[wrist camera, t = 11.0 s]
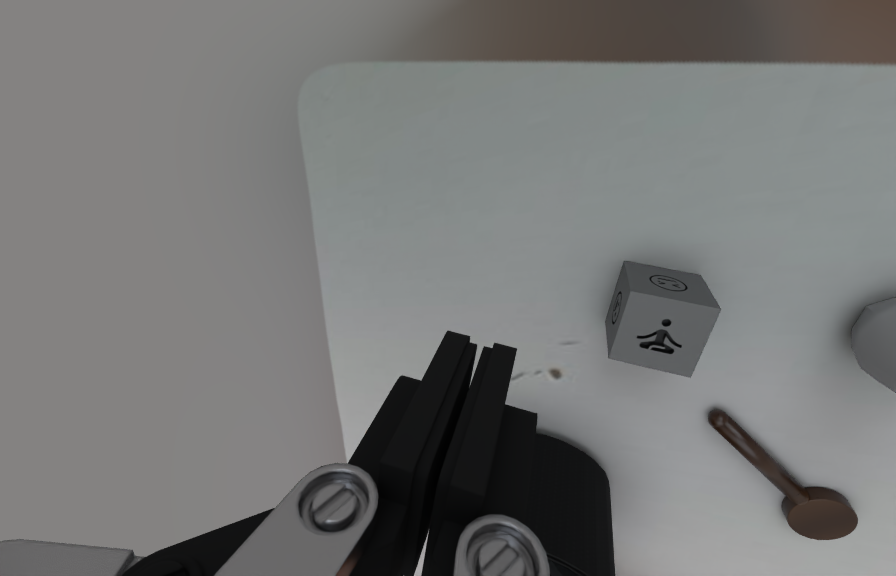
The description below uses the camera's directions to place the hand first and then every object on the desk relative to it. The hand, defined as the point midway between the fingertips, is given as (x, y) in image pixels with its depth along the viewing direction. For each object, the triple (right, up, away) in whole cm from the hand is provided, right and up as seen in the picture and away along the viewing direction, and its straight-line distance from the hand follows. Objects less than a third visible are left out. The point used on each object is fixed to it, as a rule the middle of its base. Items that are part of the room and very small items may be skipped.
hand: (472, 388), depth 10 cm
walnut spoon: (+25, -12, +23) cm, 36 cm away
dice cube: (+14, +2, +21) cm, 25 cm away
